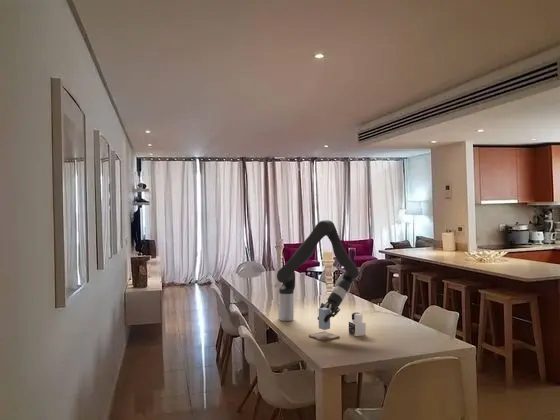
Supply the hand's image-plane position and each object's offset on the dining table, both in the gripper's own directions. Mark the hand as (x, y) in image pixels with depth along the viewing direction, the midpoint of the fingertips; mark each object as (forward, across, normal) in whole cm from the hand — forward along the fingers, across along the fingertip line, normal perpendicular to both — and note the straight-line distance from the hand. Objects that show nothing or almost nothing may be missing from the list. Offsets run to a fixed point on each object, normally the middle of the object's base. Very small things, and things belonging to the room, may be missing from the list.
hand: (321, 320), depth 250 cm
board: (+6, 0, +8) cm, 10 cm away
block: (+2, 0, +5) cm, 5 cm away
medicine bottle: (-8, +7, +22) cm, 24 cm away
